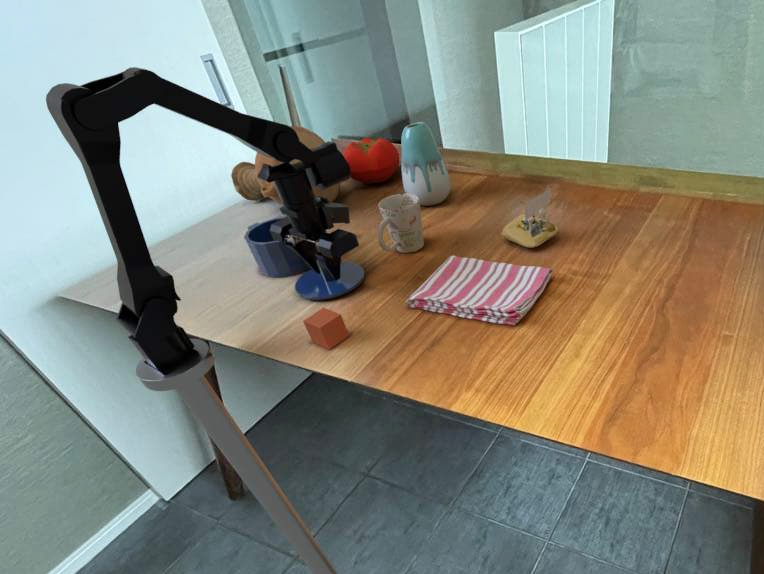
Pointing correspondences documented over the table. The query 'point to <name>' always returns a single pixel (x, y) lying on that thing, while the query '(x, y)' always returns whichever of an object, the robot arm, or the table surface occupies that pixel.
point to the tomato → (372, 160)
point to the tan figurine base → (531, 224)
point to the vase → (423, 166)
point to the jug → (248, 172)
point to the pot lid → (329, 281)
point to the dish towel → (481, 290)
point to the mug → (401, 223)
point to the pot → (273, 251)
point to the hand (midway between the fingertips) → (328, 276)
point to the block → (326, 328)
